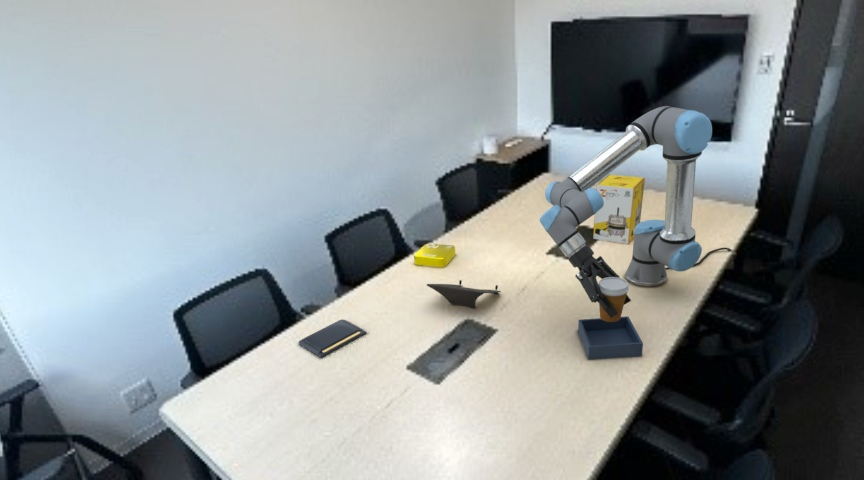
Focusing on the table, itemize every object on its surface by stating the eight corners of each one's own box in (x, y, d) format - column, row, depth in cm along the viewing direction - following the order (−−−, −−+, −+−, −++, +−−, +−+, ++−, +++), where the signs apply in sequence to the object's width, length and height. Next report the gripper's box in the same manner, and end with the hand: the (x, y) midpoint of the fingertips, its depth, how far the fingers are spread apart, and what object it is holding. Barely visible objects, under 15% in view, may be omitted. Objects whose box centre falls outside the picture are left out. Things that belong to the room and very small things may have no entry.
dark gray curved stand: (503, 309, 211) (506, 286, 209) (481, 312, 190) (484, 286, 188) (450, 301, 219) (452, 279, 218) (424, 303, 199) (427, 278, 197)
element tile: (413, 265, 238) (411, 255, 236) (427, 251, 250) (426, 241, 247) (444, 268, 233) (443, 258, 230) (457, 254, 244) (456, 244, 242)
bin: (627, 328, 182) (628, 316, 179) (641, 356, 168) (643, 343, 165) (577, 331, 183) (578, 319, 180) (588, 359, 169) (589, 347, 166)
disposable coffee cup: (626, 311, 172) (630, 277, 166) (624, 326, 165) (628, 291, 159) (596, 308, 175) (599, 275, 169) (592, 323, 168) (595, 288, 161)
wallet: (342, 316, 200) (366, 329, 191) (343, 320, 201) (367, 334, 192) (295, 338, 189) (318, 354, 180) (297, 343, 190) (319, 358, 181)
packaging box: (639, 231, 250) (645, 177, 237) (628, 244, 239) (633, 188, 226) (605, 226, 258) (609, 174, 245) (593, 238, 247) (596, 185, 234)
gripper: (585, 245, 176) (626, 300, 176) (551, 269, 163) (596, 329, 162) (601, 232, 170) (644, 289, 170) (567, 257, 157) (614, 319, 157)
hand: (621, 309), depth 166 cm, fingers closed on disposable coffee cup, 9 cm apart
